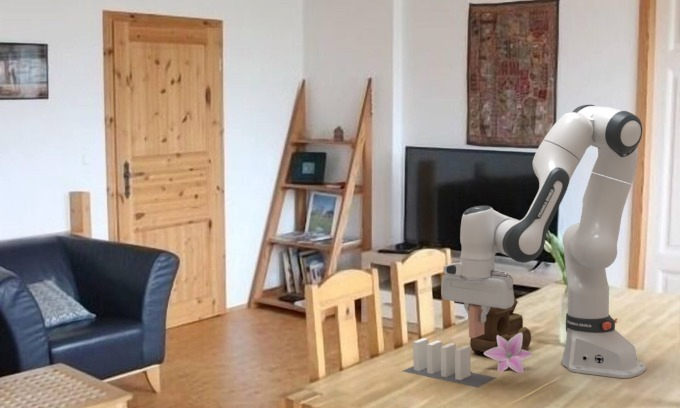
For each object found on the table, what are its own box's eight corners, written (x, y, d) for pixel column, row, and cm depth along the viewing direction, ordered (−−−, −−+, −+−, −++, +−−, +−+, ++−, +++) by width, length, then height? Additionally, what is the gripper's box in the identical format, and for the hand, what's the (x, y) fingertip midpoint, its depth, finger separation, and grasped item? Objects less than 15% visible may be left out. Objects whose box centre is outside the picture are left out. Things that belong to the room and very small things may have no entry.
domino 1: (428, 366, 256) (428, 338, 255) (418, 371, 253) (418, 342, 252) (423, 365, 257) (423, 337, 256) (413, 370, 254) (413, 341, 253)
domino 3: (456, 372, 251) (456, 343, 250) (446, 377, 247) (445, 347, 246) (451, 371, 252) (451, 342, 251) (441, 376, 248) (440, 346, 247)
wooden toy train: (497, 363, 261) (497, 305, 259) (464, 356, 269) (464, 300, 267) (534, 348, 276) (535, 293, 274) (501, 341, 283) (502, 288, 281)
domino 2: (442, 369, 254) (442, 341, 253) (432, 374, 250) (431, 345, 249) (437, 368, 255) (437, 340, 254) (427, 373, 251) (426, 344, 250)
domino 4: (470, 375, 248) (470, 346, 247) (460, 380, 244) (460, 350, 243) (465, 374, 249) (465, 345, 248) (455, 379, 245) (455, 349, 244)
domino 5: (484, 333, 243) (484, 304, 243) (474, 337, 240) (474, 307, 239) (479, 333, 244) (479, 303, 244) (469, 336, 241) (469, 306, 240)
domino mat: (497, 379, 246) (497, 377, 245) (477, 389, 238) (477, 387, 238) (422, 364, 261) (422, 362, 261) (401, 373, 253) (401, 371, 253)
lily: (478, 372, 256) (481, 348, 250) (498, 347, 264) (501, 323, 258) (516, 392, 250) (520, 367, 245) (536, 366, 258) (541, 341, 252)
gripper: (518, 271, 236) (518, 324, 237) (451, 262, 249) (451, 313, 250) (506, 275, 231) (506, 329, 233) (438, 266, 244) (438, 317, 246)
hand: (476, 320), depth 242 cm, fingers closed on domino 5, 2 cm apart
